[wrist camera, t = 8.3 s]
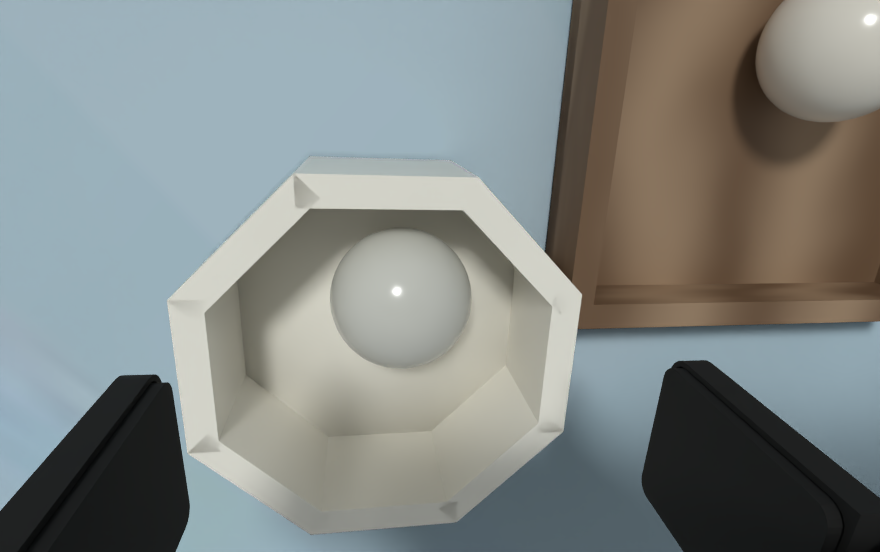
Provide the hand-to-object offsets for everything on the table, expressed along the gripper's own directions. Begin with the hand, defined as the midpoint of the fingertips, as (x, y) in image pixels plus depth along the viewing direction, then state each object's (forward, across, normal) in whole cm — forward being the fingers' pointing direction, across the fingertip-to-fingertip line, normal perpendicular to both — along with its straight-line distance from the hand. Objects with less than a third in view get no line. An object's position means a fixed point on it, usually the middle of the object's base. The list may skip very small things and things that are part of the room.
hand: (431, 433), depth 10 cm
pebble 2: (+12, -15, -8) cm, 21 cm away
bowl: (+12, +1, +3) cm, 12 cm away
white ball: (+11, +1, +1) cm, 11 cm away
